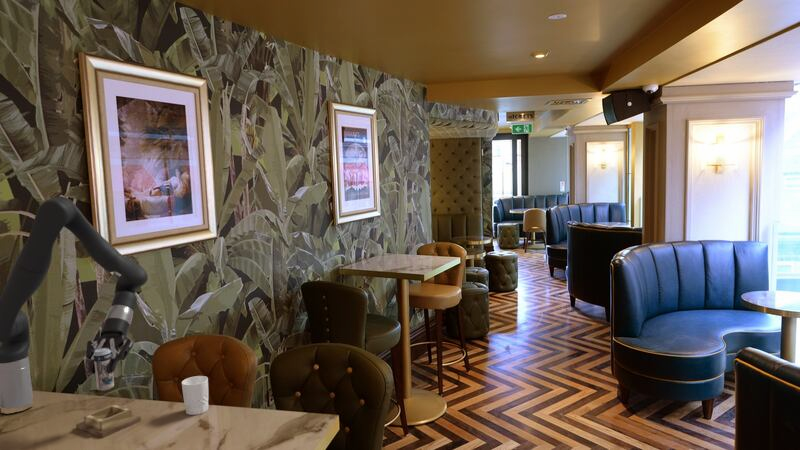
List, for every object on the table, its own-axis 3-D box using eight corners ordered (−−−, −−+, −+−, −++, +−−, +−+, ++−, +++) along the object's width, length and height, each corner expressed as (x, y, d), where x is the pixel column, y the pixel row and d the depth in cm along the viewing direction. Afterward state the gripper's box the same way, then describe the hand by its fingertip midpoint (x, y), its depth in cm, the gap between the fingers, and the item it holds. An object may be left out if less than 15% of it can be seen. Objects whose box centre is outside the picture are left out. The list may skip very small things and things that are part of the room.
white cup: (182, 417, 171) (180, 386, 170) (185, 407, 179) (183, 377, 178) (209, 413, 173) (207, 382, 172) (211, 403, 181) (208, 374, 180)
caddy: (76, 428, 167) (75, 416, 167) (114, 412, 177) (113, 401, 177) (103, 437, 160) (102, 425, 159) (140, 420, 170) (139, 409, 170)
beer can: (101, 392, 164) (97, 353, 163) (94, 389, 167) (90, 350, 166) (117, 387, 168) (113, 348, 167) (110, 383, 171) (106, 346, 170)
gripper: (90, 317, 173) (70, 368, 162) (135, 315, 173) (118, 366, 162) (101, 329, 179) (83, 378, 168) (144, 327, 179) (129, 377, 168)
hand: (100, 372), depth 165 cm, fingers closed on beer can, 4 cm apart
